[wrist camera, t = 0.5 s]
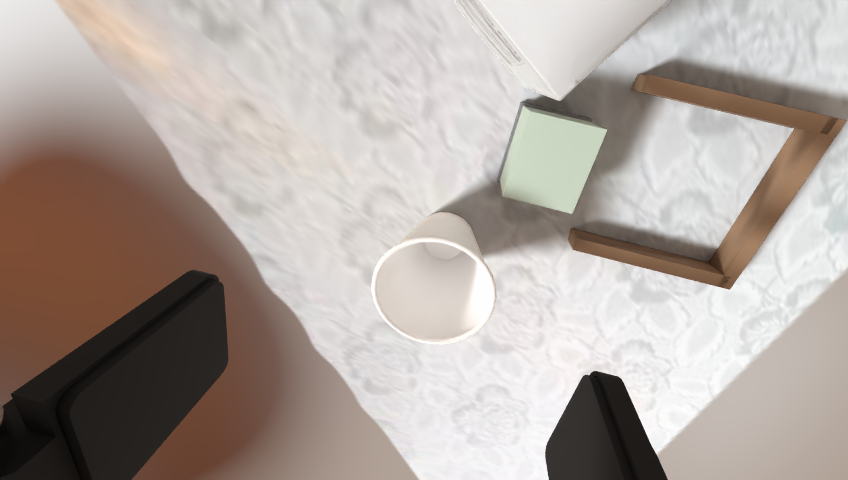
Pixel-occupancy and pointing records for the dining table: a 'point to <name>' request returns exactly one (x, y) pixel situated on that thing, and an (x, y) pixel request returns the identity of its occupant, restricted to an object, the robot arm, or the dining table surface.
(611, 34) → the supplement box
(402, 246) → the cup
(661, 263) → the bay
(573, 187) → the sage green box
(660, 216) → the dining table surface
